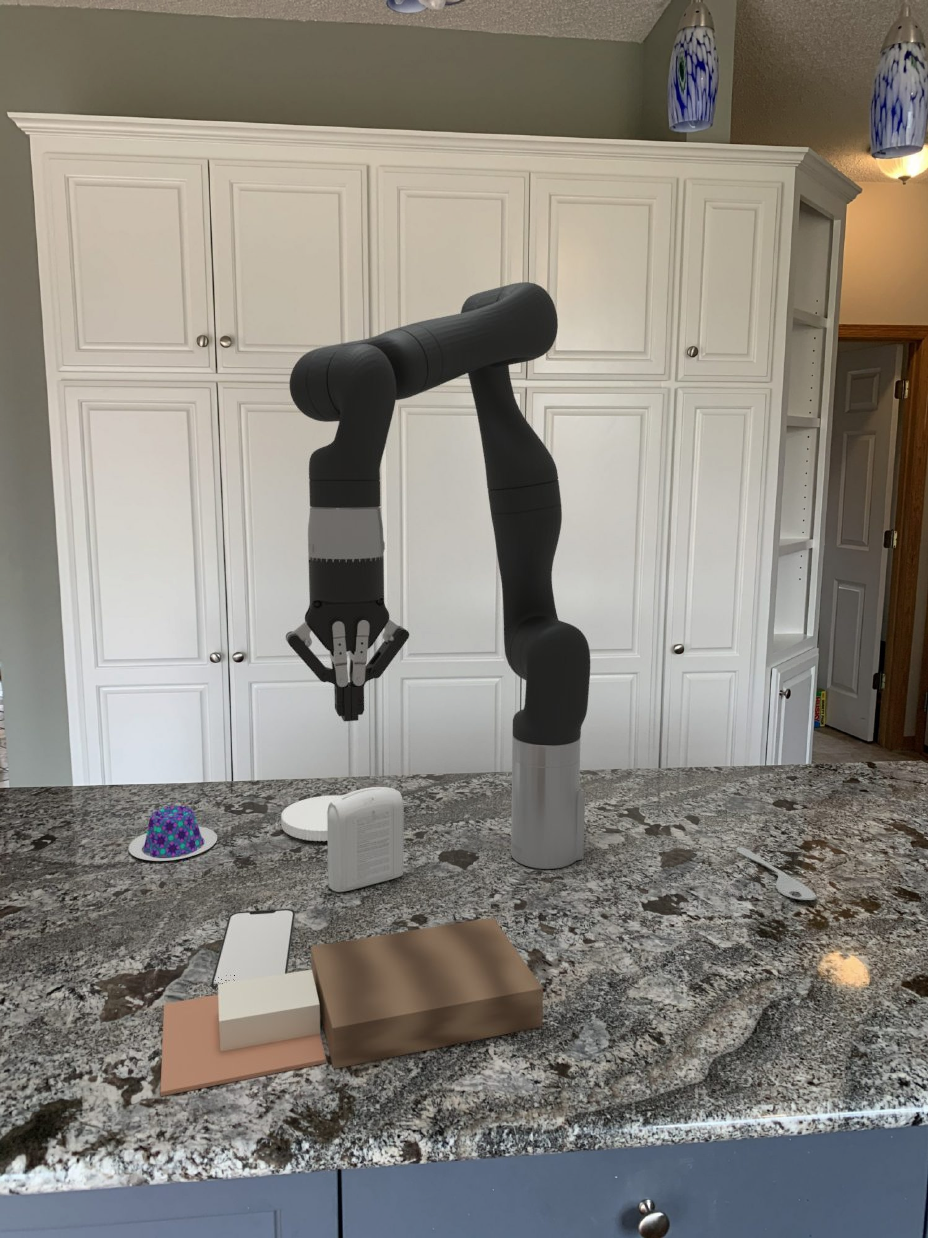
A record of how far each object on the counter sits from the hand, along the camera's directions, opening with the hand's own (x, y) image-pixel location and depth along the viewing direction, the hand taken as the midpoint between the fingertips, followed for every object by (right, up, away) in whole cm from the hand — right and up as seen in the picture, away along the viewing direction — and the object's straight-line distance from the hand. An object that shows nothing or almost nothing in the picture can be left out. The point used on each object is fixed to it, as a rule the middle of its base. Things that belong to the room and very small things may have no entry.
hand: (349, 719), depth 90 cm
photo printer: (-1, -24, +23) cm, 33 cm away
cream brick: (-7, -28, -7) cm, 30 cm away
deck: (+8, -28, -3) cm, 29 cm away
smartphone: (-11, -27, +7) cm, 30 cm away
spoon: (+53, -24, +26) cm, 63 cm away
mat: (-9, -29, -8) cm, 31 cm away
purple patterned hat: (-29, -22, +33) cm, 50 cm away
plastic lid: (-8, -21, +40) cm, 46 cm away
